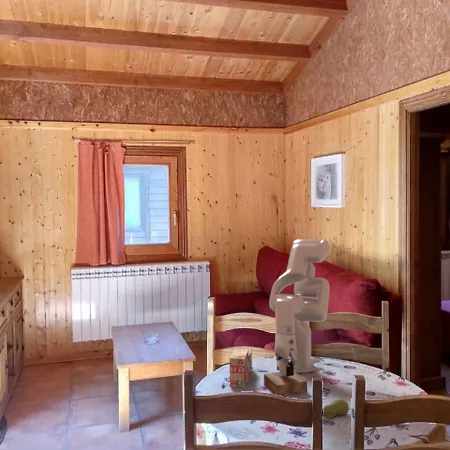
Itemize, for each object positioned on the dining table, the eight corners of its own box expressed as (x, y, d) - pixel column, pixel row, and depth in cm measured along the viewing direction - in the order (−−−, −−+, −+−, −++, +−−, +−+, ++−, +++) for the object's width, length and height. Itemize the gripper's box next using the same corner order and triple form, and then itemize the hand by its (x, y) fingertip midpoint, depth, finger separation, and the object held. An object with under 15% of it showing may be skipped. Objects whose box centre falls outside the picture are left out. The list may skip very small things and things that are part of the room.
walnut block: (292, 381, 202) (292, 370, 202) (307, 393, 190) (307, 381, 190) (264, 386, 198) (263, 374, 198) (277, 398, 186) (277, 385, 186)
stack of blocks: (238, 368, 218) (238, 342, 217) (252, 369, 217) (251, 342, 216) (229, 387, 197) (229, 357, 196) (244, 388, 196) (244, 358, 195)
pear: (350, 401, 168) (326, 410, 165) (352, 415, 169) (328, 424, 166) (341, 395, 174) (317, 403, 170) (343, 408, 174) (320, 417, 171)
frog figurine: (282, 372, 198) (281, 355, 198) (296, 375, 194) (296, 358, 194) (273, 376, 194) (273, 359, 193) (288, 380, 189) (288, 363, 189)
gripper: (304, 333, 186) (305, 378, 187) (282, 322, 202) (282, 364, 203) (288, 335, 183) (288, 381, 184) (266, 325, 199) (266, 367, 200)
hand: (285, 372), depth 194 cm, fingers closed on frog figurine, 6 cm apart
